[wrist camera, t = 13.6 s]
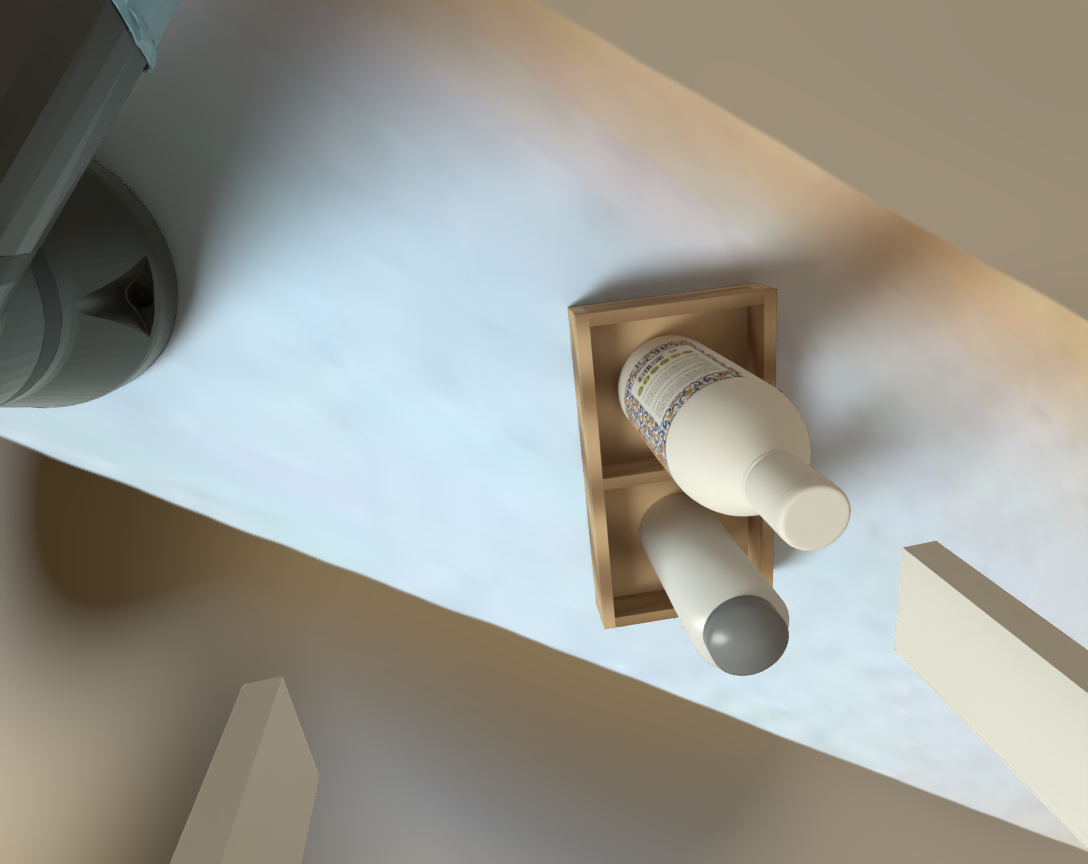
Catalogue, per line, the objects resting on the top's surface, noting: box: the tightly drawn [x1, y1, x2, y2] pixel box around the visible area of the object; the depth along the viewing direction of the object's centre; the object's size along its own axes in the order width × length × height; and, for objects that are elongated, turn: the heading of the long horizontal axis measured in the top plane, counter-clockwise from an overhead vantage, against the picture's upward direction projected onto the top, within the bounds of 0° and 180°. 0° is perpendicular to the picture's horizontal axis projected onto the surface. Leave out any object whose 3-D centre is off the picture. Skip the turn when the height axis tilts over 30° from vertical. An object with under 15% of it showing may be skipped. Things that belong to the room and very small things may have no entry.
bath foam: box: [618, 335, 851, 551], centre depth 34 cm, size 7×7×20 cm
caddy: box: [568, 283, 777, 629], centre depth 45 cm, size 23×13×3 cm, turn 6°
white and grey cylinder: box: [639, 494, 789, 676], centre depth 41 cm, size 6×6×13 cm
